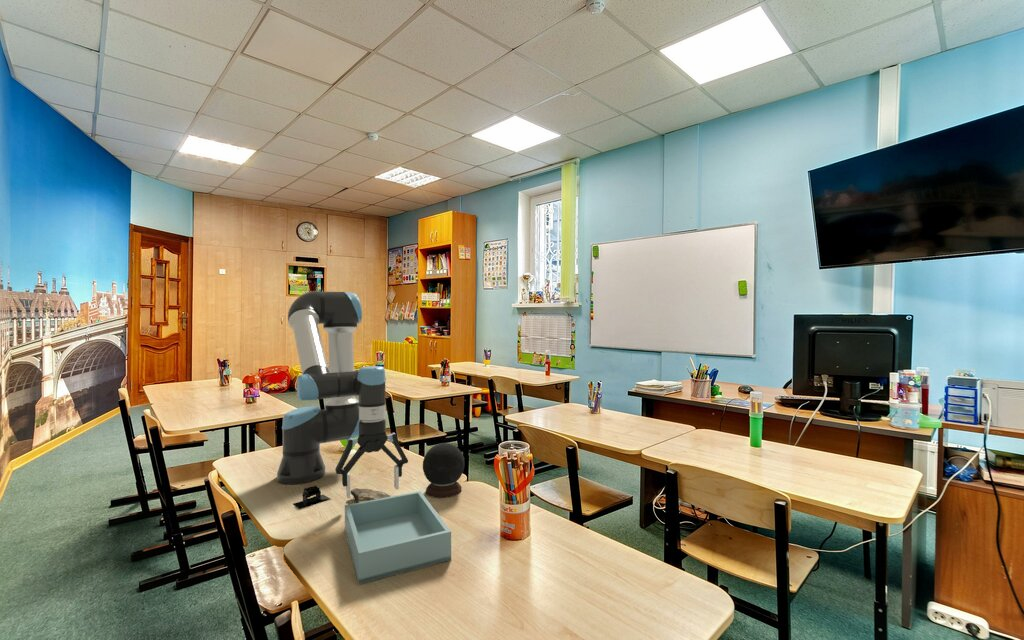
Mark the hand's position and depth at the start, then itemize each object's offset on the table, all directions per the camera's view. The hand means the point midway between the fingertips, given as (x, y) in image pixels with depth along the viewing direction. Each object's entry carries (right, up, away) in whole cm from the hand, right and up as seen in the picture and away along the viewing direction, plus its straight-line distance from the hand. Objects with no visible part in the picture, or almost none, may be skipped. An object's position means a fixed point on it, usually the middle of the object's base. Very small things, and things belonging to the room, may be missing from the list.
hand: (372, 492), depth 128 cm
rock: (0, -5, +1) cm, 5 cm away
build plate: (-19, -5, +3) cm, 20 cm away
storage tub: (+12, -4, -22) cm, 25 cm away
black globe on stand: (+19, -4, +11) cm, 22 cm away
